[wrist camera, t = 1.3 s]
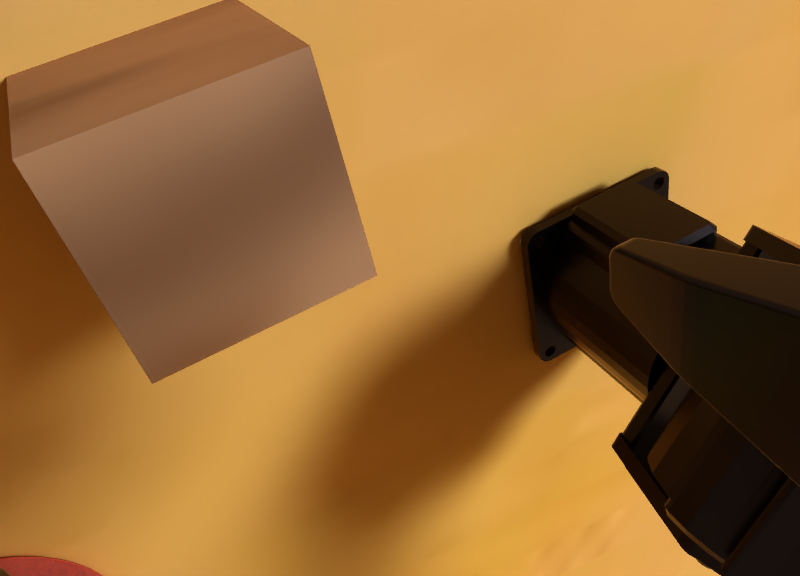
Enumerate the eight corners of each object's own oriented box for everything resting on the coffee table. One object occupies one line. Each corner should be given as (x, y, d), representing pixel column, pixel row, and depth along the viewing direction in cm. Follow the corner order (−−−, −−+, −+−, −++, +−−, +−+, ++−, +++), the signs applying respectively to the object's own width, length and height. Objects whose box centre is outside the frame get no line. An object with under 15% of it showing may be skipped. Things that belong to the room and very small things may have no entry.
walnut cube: (298, 187, 20) (377, 275, 16) (117, 266, 19) (152, 383, 15) (232, -4, 17) (310, 45, 13) (6, 75, 16) (11, 158, 12)
